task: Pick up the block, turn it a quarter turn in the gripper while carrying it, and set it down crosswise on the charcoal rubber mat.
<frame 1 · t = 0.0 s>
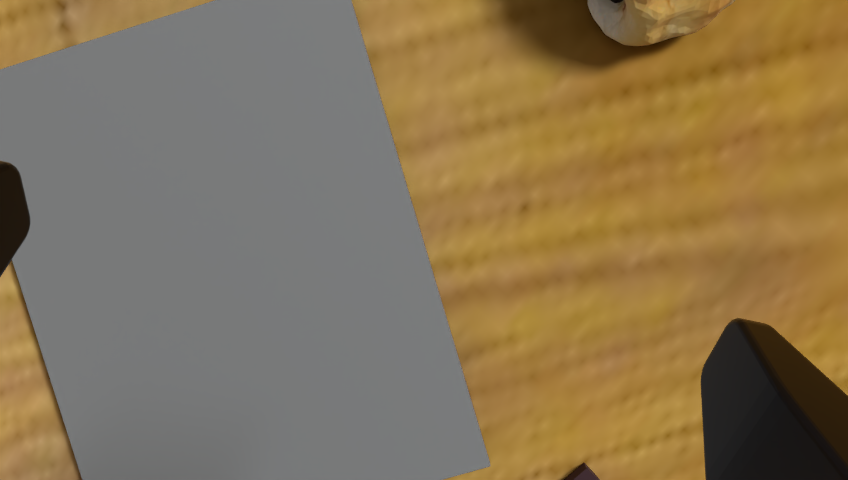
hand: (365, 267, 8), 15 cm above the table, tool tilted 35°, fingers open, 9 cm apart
mat: (226, 273, 24), on the table
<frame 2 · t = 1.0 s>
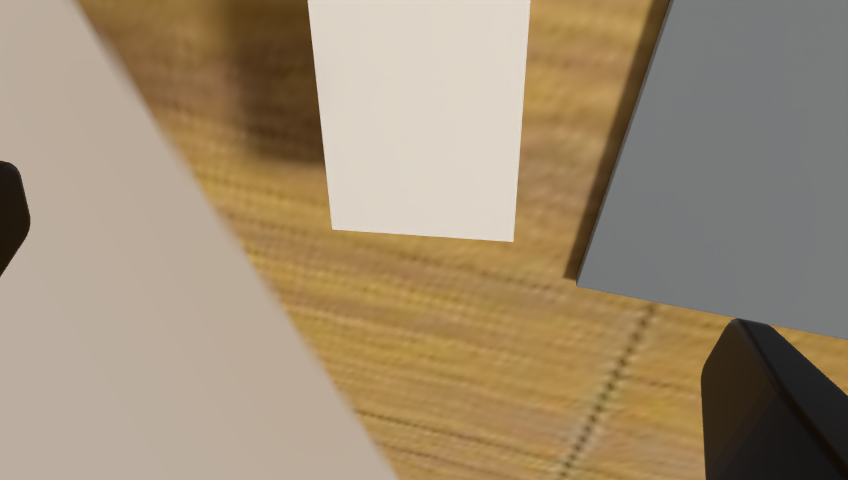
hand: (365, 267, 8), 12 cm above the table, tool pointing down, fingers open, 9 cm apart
block: (439, 9, 19), on the table
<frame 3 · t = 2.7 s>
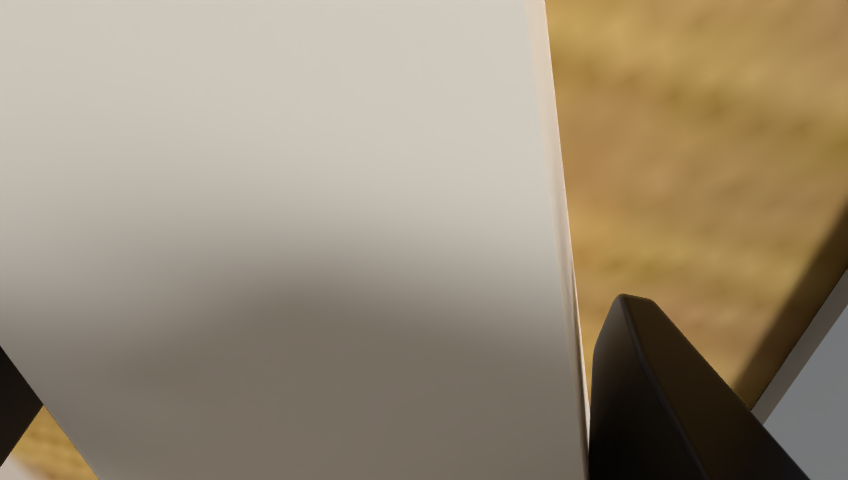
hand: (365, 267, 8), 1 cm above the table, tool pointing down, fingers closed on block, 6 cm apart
block: (385, 210, 9), on the table, touching gripper
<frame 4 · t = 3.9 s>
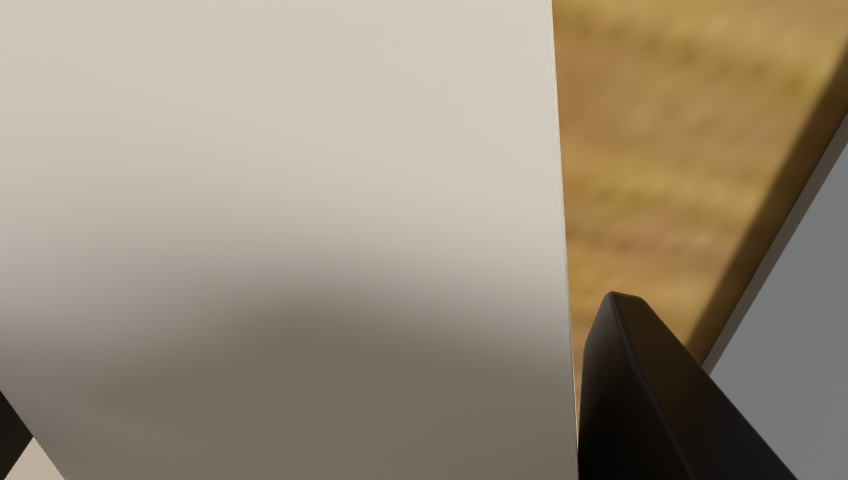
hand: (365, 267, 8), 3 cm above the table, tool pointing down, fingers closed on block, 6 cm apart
block: (378, 219, 9), point 2 cm above the table, touching gripper
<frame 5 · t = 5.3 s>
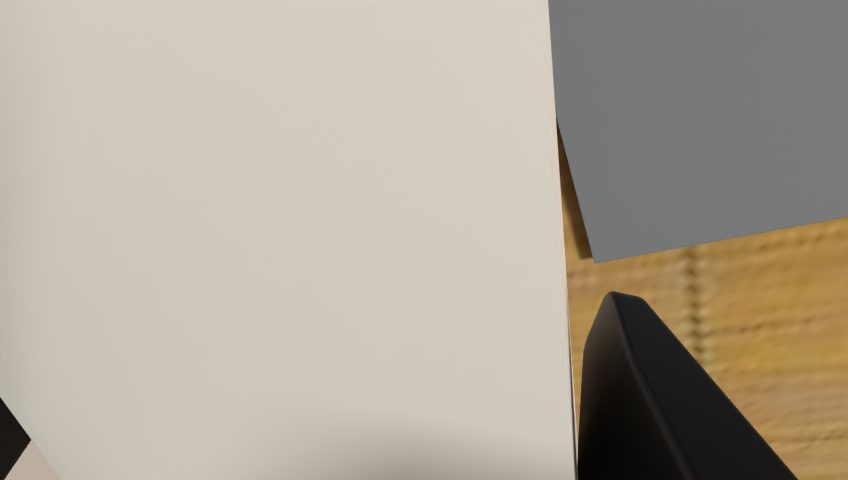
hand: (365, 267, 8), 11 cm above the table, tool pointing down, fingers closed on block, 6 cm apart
block: (376, 219, 9), point 10 cm above the table, touching gripper
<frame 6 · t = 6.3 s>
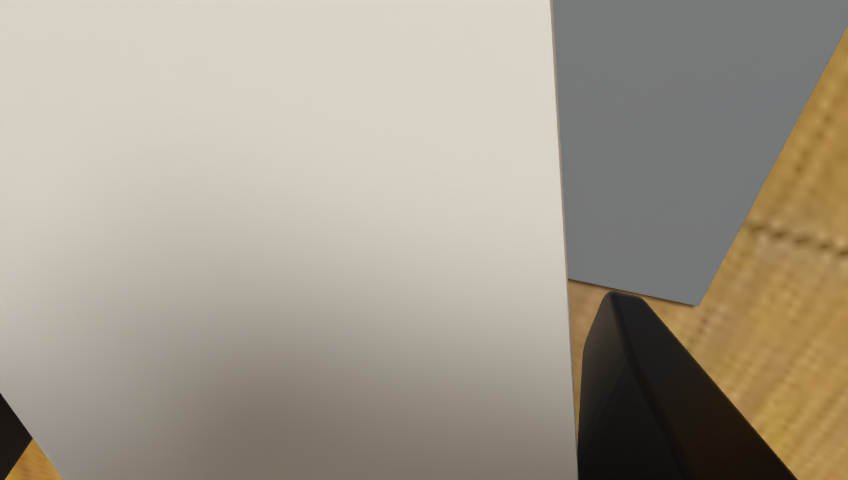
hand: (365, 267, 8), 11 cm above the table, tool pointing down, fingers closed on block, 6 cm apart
block: (378, 218, 9), point 9 cm above the table, touching gripper
mat: (452, 16, 17), on the table
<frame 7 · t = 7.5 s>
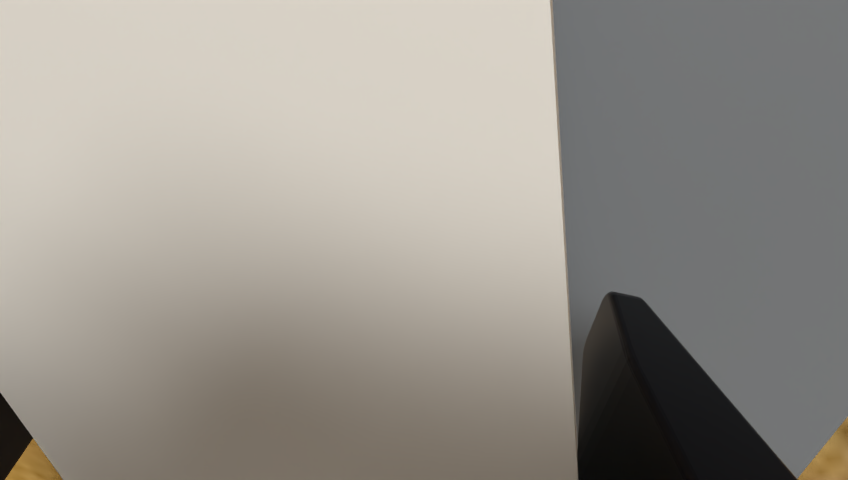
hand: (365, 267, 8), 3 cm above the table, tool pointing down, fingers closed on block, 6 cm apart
block: (378, 217, 9), point 2 cm above the table, touching gripper
mat: (405, 145, 11), on the table
when the fingers open (3 cm above the table, at t = 8.4 s): block drops 2 cm, resting on mat.
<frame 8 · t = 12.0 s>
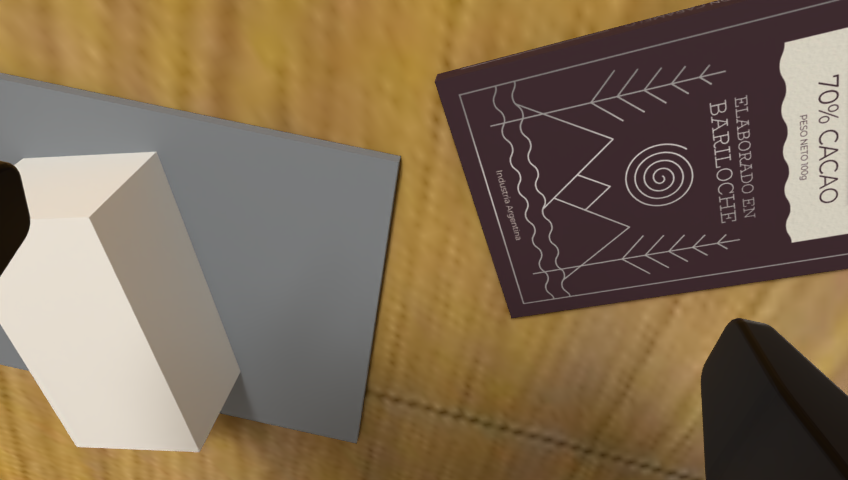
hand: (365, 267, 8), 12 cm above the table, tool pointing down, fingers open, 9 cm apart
chocolate bar: (776, 133, 20), on the table
block: (141, 274, 25), resting on mat
mat: (145, 268, 25), on the table
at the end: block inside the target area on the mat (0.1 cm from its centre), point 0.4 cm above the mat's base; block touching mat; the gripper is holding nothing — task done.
